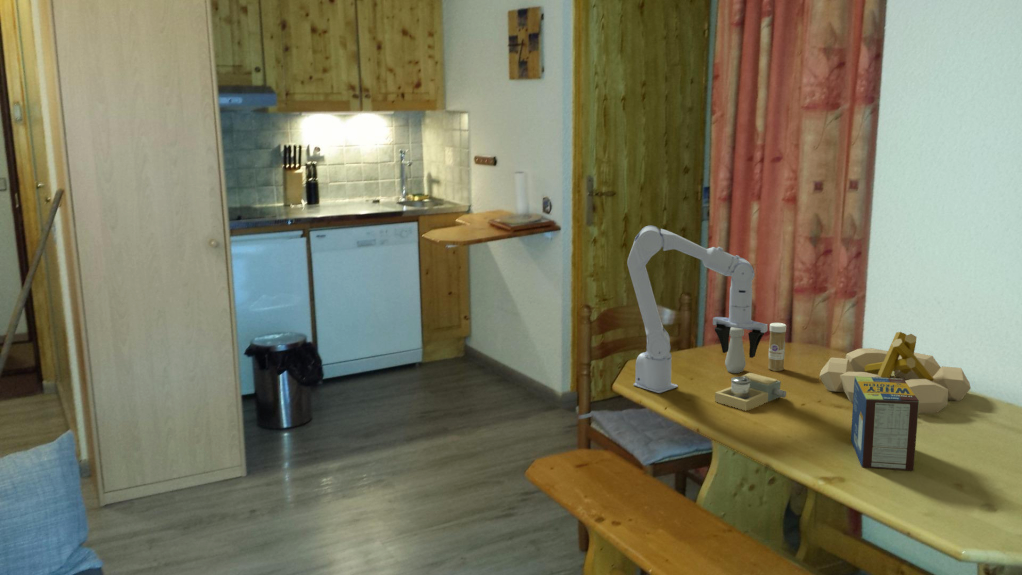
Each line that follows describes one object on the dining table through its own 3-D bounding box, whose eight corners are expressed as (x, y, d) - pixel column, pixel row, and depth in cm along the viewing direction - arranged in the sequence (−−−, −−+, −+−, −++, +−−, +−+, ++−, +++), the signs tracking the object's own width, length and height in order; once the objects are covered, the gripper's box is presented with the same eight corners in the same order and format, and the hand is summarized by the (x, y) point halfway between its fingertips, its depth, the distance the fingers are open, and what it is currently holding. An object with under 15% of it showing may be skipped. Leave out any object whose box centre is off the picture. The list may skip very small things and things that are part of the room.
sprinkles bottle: (767, 370, 246) (769, 325, 243) (768, 366, 250) (770, 321, 247) (783, 372, 244) (786, 326, 241) (784, 367, 248) (786, 322, 246)
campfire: (928, 426, 202) (934, 357, 199) (798, 393, 227) (801, 331, 224) (986, 392, 225) (992, 329, 221) (862, 365, 250) (866, 308, 246)
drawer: (714, 401, 221) (715, 384, 220) (748, 388, 231) (749, 371, 230) (756, 414, 212) (757, 395, 211) (789, 400, 221) (790, 382, 220)
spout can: (726, 399, 221) (727, 375, 220) (738, 395, 224) (739, 371, 222) (741, 404, 217) (742, 379, 216) (753, 400, 220) (754, 376, 219)
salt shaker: (745, 374, 243) (747, 330, 240) (725, 373, 244) (726, 329, 241) (744, 368, 248) (746, 325, 246) (724, 367, 249) (725, 324, 247)
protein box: (898, 443, 193) (904, 377, 189) (914, 471, 178) (920, 401, 175) (849, 440, 195) (853, 375, 192) (860, 467, 180) (865, 398, 177)
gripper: (708, 304, 227) (706, 353, 230) (760, 311, 218) (758, 362, 221) (720, 299, 232) (718, 347, 235) (771, 306, 223) (769, 356, 226)
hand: (738, 354), depth 228 cm, fingers open, 7 cm apart
